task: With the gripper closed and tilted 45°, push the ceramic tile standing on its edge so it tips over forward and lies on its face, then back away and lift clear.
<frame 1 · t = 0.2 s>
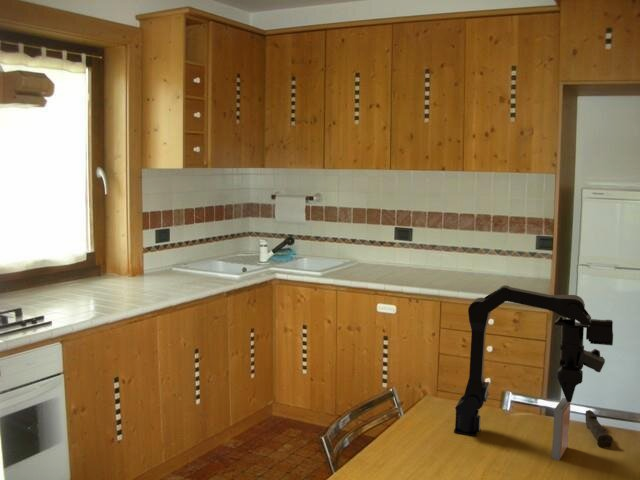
hand: (569, 396, 186), 15 cm above the table, tool pointing down, fingers open, 9 cm apart
tile: (559, 452, 184), on the table
dark brown rough rod: (593, 435, 197), on the table
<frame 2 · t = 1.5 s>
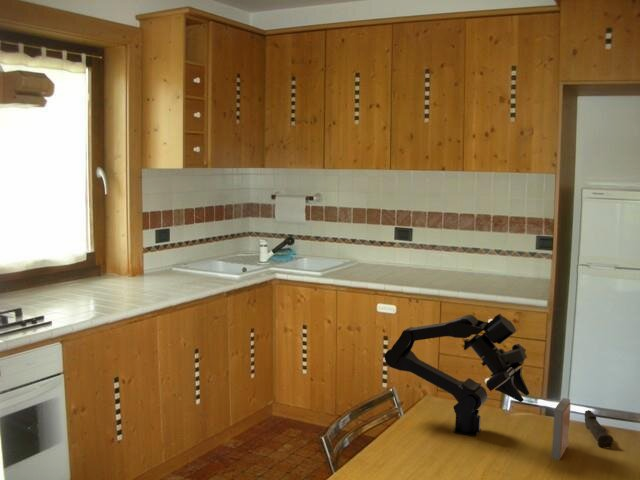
hand: (525, 397, 188), 14 cm above the table, tool tilted 45°, fingers open, 6 cm apart
nothing on the table moved.
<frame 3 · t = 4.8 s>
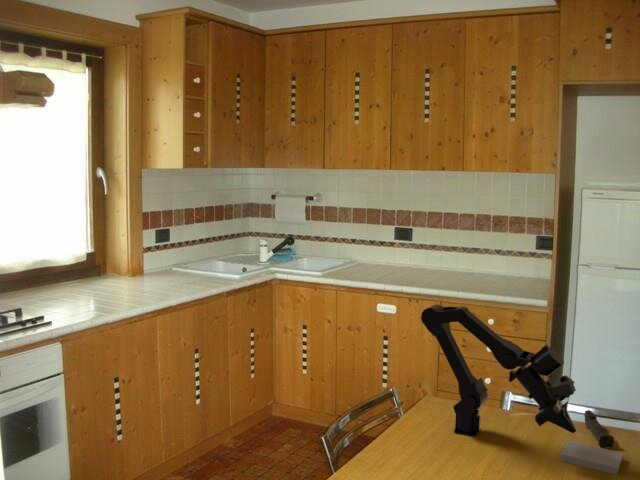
hand: (574, 432, 182), 7 cm above the table, tool tilted 45°, fingers closed
tile: (564, 450, 184), point 1 cm above the table, tilted 90°
everything else where it was.
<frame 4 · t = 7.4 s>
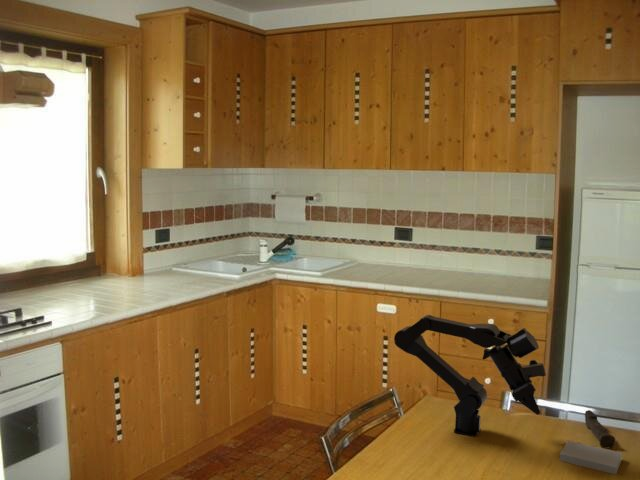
hand: (538, 413, 187), 9 cm above the table, tool tilted 35°, fingers closed
nothing on the table moved.
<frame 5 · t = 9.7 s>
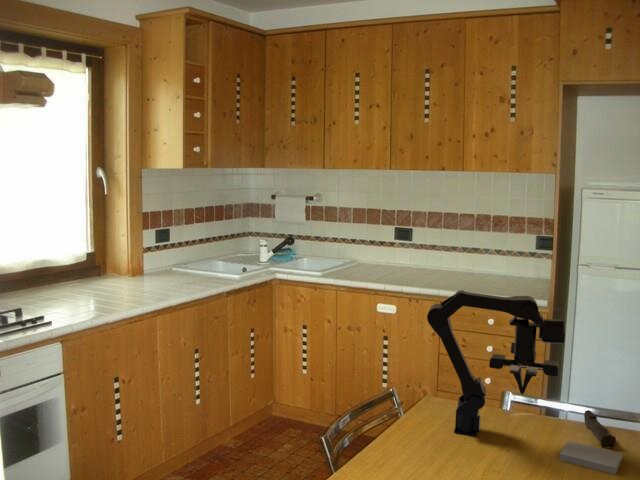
hand: (522, 393, 193), 13 cm above the table, tool pointing down, fingers closed
nothing on the table moved.
at the end: tile tilted 90°; tile inside the target area (4.8 cm from its centre), point 0.9 cm above the table; the gripper is holding nothing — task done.
